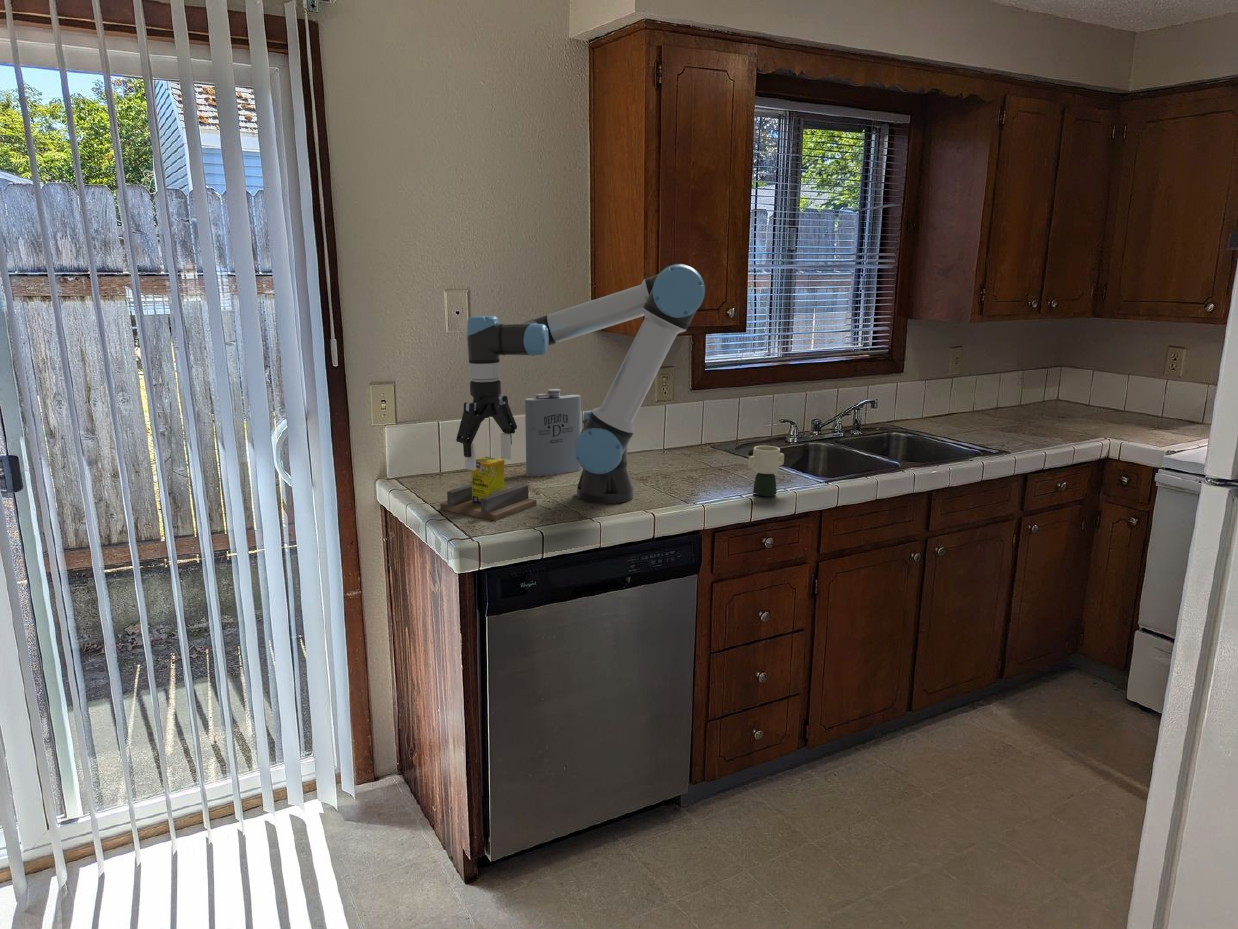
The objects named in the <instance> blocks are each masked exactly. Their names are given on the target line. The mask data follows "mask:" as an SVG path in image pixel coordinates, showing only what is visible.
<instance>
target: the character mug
mask: <svg viewBox="0 0 1238 929" xmlns="http://www.w3.org/2000/svg"><path fill="white" fill-rule="evenodd" d="M752 452H753V454H752V455H751V456H749V457H748V463H747V464H748V469H752V470H753V472H755V473H756V475H755V478H754V484H753V492H752V494H755V495H758V496H759V497H761V496H763V497H772V496H775V495H777V479H776V475H775V474H777V473H779V470H780V466H782V465H784V464H785V463H784V462H785V454H784V453H782V452H781V448H780V447H778V446H773V445H756V446H754V447H753V451H752Z"/></svg>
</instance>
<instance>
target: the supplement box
mask: <svg viewBox="0 0 1238 929" xmlns="http://www.w3.org/2000/svg"><path fill="white" fill-rule="evenodd" d="M471 484H472V501H473V502H475V503H480V504H481V498H483V497H486V496H489V495H492V494H495V493H498V492H501V491H503V490H506V489H505V460H504V458H495V457H490V456H483V457H480V458H476V470H471Z"/></svg>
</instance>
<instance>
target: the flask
mask: <svg viewBox="0 0 1238 929" xmlns="http://www.w3.org/2000/svg"><path fill="white" fill-rule="evenodd" d="M561 391H562V390H561V389H560V388H549V389H547V392H545V393H535V394H534V395H535V396H534V397H529V398H524V411H525V412H524V414H525V416H524V420H525V426H524V427H525V465H526V466H525V467H526V468H525V472H526V473H525V474H527V475H528V476H527V475H526V476H527V477H529V476H537V477H546V476H545V475H548V476H555V475H554V474H557V475H561V474H560V473H564V474H568V473H567V472H570V473H575V472H580V471H581V470H582V467H581V466H580V464H579V463H578V461H577V459H576V457H575V451H574V446H575V441H576V439H577V437H578V436H579V435H580V434H581V432H582V428H581V427H582V426H581V425H582V424H581V423H582V422H581V421H582V419H581V418H582V412H581V411H582V408H581V407H582V404H581V402H582V400H581V399H582V398H581V397H582V396H581V395H580V394H567V395H561Z"/></svg>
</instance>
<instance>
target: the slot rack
mask: <svg viewBox="0 0 1238 929" xmlns="http://www.w3.org/2000/svg"><path fill="white" fill-rule="evenodd" d="M446 495H447V499H446V500H447V501H444V502H441V503H440V504H439V505H440V506H439V508H440V509H439V510H442V511H448V512H452V513H455V514H456V513H457V514H460V515H466V516H470V515H471V517H475V516H476V518H479V517H480V519H485V520H490V521H495V522H497V521H499V520H503V519H505V518H507V517H509V515H510V516H512V515H515V514H517V512H518V513H520V512H519V511H521V512H523V511H525V510H524V509H526V510H528V509H531V508H533V506H534V507H536V506H537V499H533V498H529V485H528V484H524V483H523V484H518V485H516V486H513V487H509V488H507V489H505V490H503V491H501V492H498V493H495V494H492V495H489V496H486V497H483V498H481V504H480V503H475V502H473V501H472V483H469V484H467V485H466V484H465V486H460V487H457V488H454V489H451V490H447V492H446ZM522 510H523V511H522ZM506 516H507V517H506Z"/></svg>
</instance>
